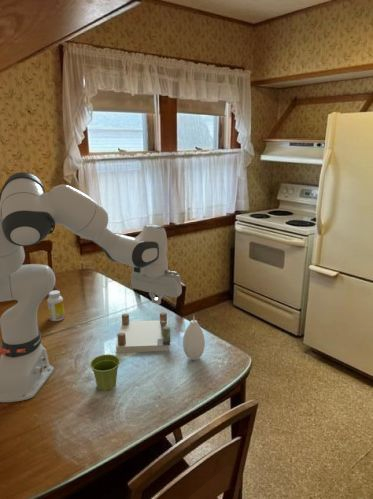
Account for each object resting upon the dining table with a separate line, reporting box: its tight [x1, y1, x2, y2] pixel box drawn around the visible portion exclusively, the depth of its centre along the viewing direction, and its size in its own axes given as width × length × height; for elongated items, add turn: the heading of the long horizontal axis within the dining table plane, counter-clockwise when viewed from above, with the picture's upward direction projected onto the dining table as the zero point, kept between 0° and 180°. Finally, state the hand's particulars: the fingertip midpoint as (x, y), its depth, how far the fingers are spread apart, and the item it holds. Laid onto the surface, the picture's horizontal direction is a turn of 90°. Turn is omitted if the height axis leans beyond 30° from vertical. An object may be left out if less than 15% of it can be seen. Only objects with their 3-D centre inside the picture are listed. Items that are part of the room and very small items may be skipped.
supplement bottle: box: [46, 289, 66, 322], centre depth 164 cm, size 7×7×13 cm
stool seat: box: [115, 311, 171, 354], centre depth 148 cm, size 20×20×6 cm
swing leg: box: [161, 321, 171, 343], centre depth 144 cm, size 3×10×6 cm, turn 12°
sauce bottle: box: [182, 315, 206, 361], centre depth 133 cm, size 8×8×18 cm
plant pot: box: [89, 354, 121, 391], centre depth 120 cm, size 9×9×9 cm
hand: (156, 303), depth 137 cm, fingers closed
